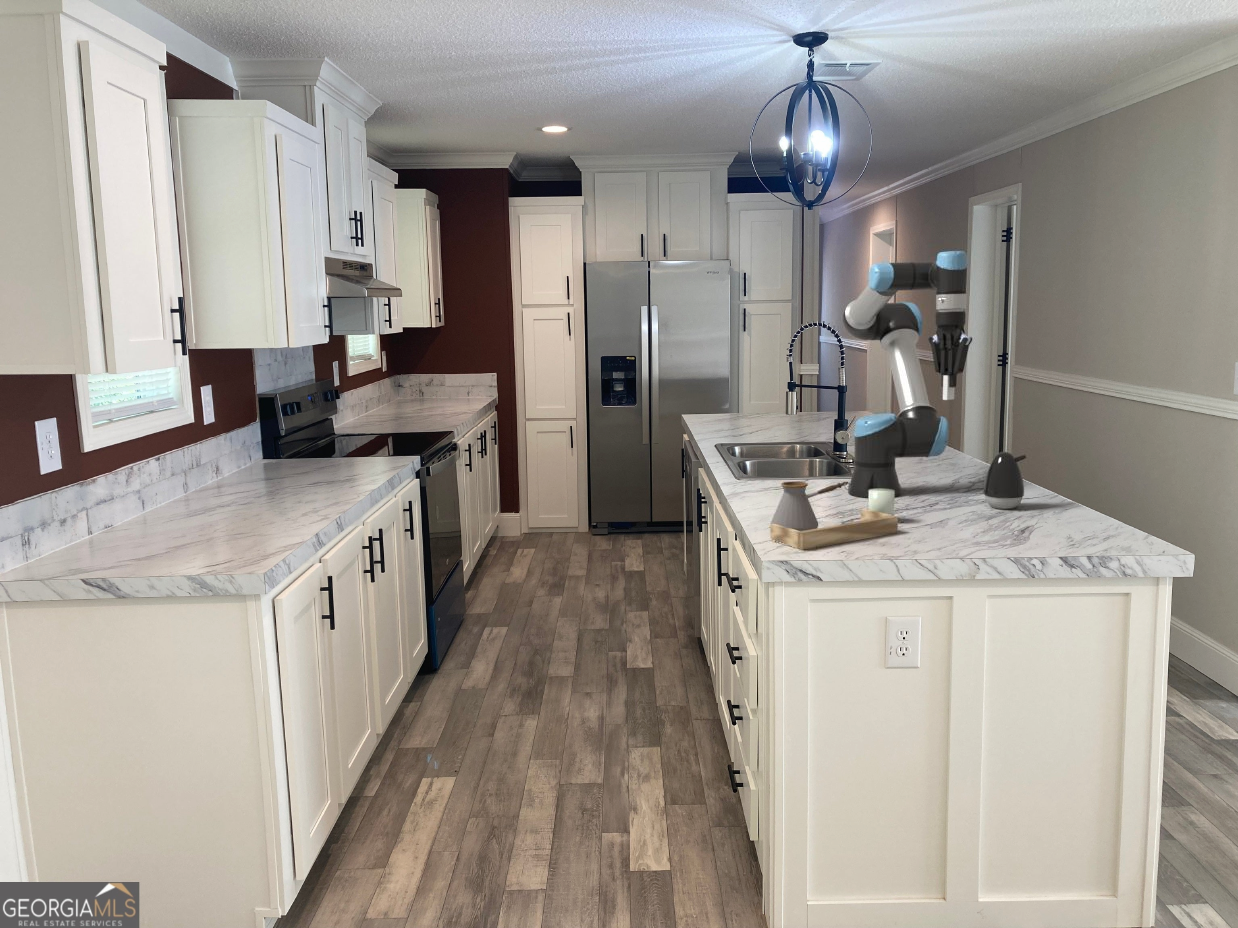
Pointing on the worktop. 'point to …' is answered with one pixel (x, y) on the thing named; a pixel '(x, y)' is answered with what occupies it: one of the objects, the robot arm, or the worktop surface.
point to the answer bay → (837, 531)
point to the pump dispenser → (1004, 482)
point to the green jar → (881, 500)
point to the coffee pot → (798, 506)
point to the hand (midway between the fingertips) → (948, 399)
